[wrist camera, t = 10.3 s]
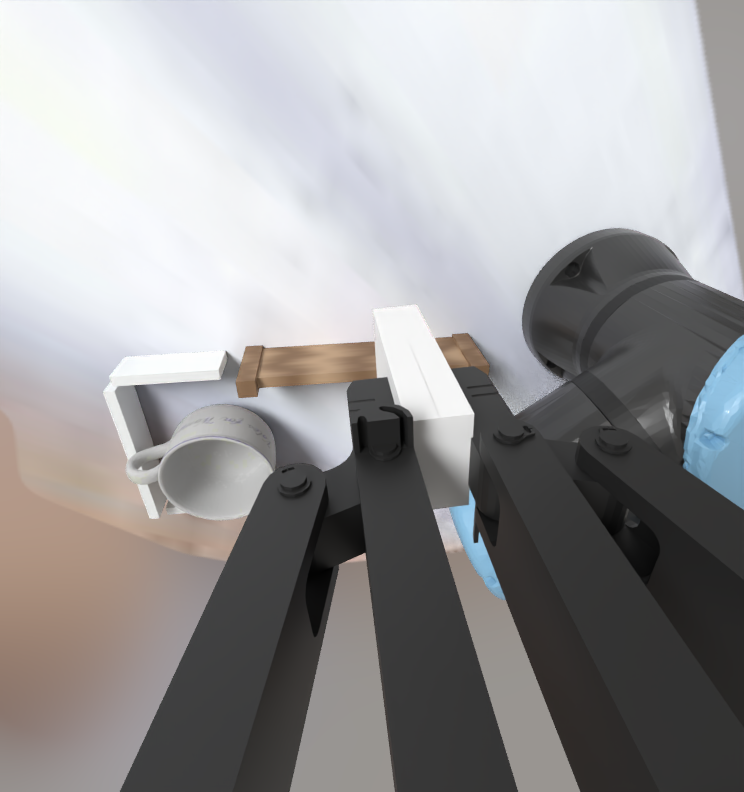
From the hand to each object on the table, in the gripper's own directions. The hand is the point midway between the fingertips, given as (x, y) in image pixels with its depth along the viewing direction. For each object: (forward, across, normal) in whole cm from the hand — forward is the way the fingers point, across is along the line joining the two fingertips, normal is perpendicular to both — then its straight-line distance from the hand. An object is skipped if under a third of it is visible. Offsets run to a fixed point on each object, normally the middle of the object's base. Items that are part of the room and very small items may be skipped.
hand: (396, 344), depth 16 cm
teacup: (+28, +16, +22) cm, 39 cm away
